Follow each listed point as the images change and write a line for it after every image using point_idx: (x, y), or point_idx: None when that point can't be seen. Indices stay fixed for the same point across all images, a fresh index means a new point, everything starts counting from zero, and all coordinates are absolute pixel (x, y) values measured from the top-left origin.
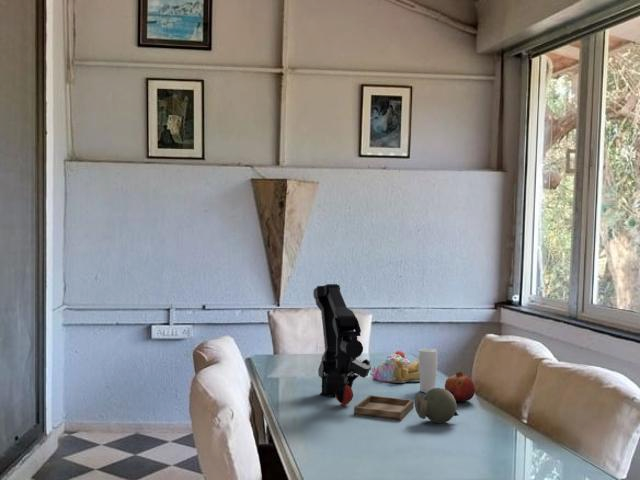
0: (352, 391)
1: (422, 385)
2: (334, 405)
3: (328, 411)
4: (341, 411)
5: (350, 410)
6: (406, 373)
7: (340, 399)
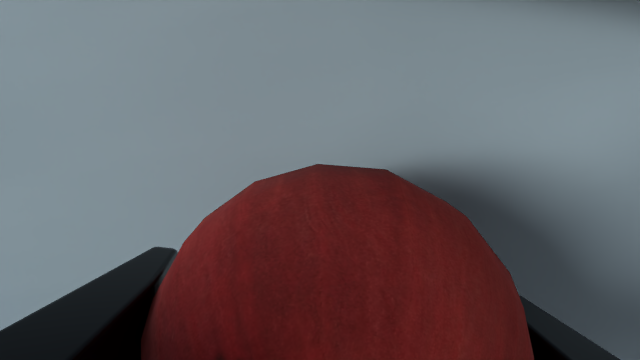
0: (335, 235)
1: None
2: None
3: (617, 342)
4: (614, 210)
5: (556, 104)
6: None
7: None
